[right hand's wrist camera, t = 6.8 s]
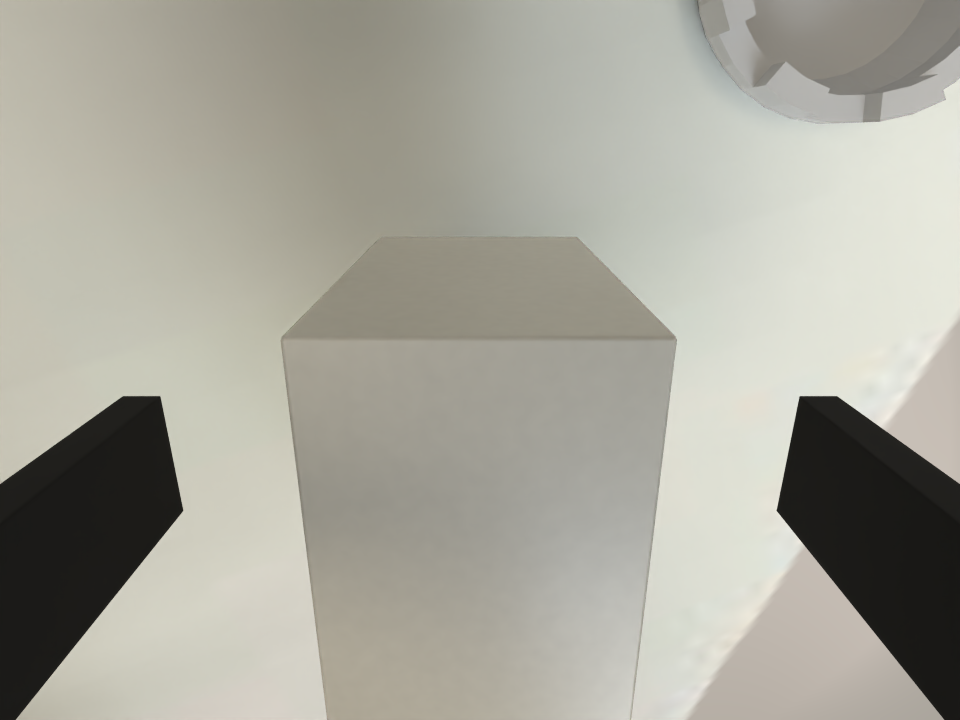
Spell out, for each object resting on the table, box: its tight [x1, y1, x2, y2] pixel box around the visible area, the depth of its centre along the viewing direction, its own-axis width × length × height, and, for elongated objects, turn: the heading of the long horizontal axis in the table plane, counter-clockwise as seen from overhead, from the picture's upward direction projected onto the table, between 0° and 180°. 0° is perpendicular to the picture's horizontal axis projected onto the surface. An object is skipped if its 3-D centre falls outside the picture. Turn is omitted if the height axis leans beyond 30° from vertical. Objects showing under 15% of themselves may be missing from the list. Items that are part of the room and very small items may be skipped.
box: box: [281, 237, 677, 720], centre depth 19 cm, size 27×6×11 cm, turn 0°
